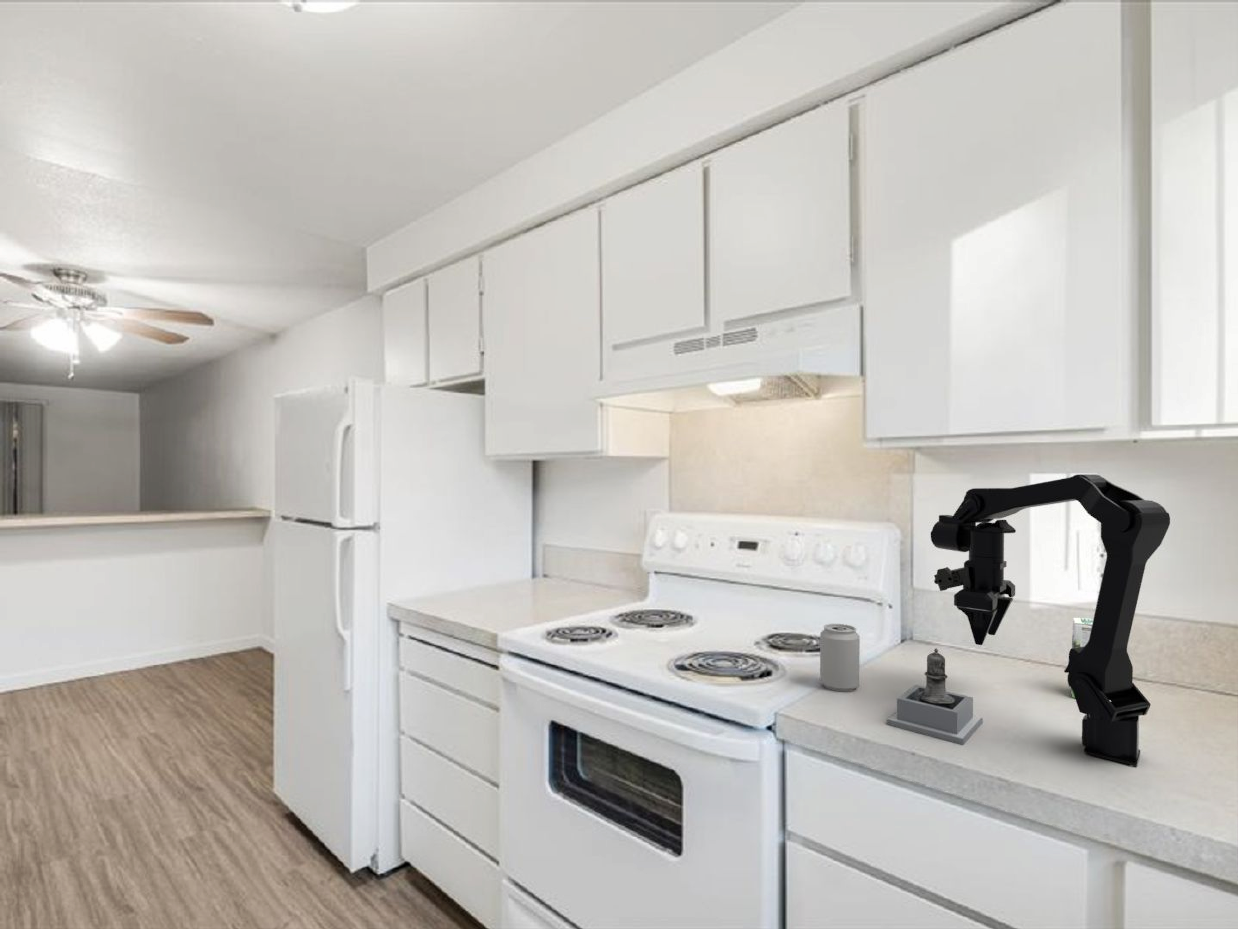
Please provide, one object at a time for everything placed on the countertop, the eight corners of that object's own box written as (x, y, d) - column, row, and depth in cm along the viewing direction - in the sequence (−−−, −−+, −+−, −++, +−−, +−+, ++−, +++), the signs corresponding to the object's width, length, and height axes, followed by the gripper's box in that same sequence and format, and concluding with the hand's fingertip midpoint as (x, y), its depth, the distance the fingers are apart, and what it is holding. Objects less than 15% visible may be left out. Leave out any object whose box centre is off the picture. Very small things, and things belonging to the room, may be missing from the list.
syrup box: (1070, 689, 131) (1070, 616, 131) (1106, 695, 128) (1107, 620, 128) (1072, 698, 126) (1073, 622, 126) (1110, 704, 123) (1111, 626, 123)
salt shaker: (932, 725, 111) (932, 653, 111) (909, 713, 116) (910, 644, 116) (962, 723, 112) (963, 652, 112) (938, 710, 118) (939, 642, 118)
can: (855, 681, 136) (856, 622, 136) (862, 694, 128) (863, 632, 128) (817, 679, 137) (818, 621, 137) (822, 691, 130) (822, 630, 129)
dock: (982, 722, 115) (982, 697, 114) (963, 744, 106) (963, 717, 106) (910, 705, 123) (910, 681, 122) (886, 724, 114) (887, 698, 114)
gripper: (953, 546, 135) (953, 623, 136) (924, 556, 121) (923, 641, 122) (1016, 552, 128) (1015, 633, 128) (992, 563, 114) (991, 653, 114)
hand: (985, 639), depth 123 cm, fingers open, 9 cm apart
